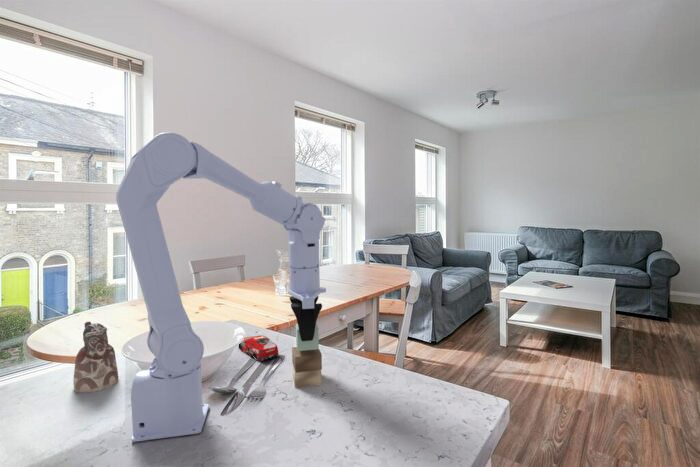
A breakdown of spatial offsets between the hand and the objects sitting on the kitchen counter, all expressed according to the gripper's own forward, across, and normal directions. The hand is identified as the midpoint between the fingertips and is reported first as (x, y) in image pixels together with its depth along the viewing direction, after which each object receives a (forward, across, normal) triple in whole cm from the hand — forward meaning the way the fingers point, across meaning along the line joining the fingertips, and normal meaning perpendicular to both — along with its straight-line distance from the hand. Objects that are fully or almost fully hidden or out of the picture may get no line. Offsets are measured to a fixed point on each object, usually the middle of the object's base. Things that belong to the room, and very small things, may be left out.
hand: (306, 336), depth 72 cm
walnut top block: (+6, 0, 0) cm, 6 cm away
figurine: (+9, +8, +40) cm, 42 cm away
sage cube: (+2, 0, 0) cm, 2 cm away
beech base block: (+9, 0, 0) cm, 9 cm away
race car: (+9, +17, +10) cm, 22 cm away
